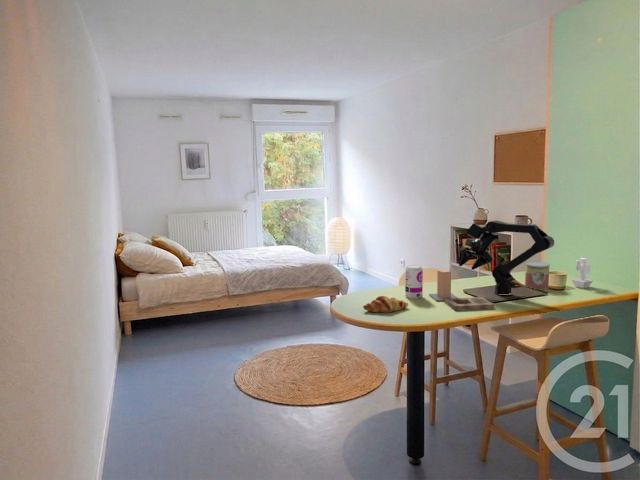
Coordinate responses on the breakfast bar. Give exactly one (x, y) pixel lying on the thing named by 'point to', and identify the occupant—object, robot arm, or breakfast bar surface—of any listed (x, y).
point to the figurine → (582, 274)
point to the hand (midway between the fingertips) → (465, 267)
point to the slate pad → (441, 297)
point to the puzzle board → (469, 303)
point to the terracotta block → (444, 283)
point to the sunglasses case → (515, 282)
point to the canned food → (537, 275)
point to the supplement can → (413, 281)
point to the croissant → (385, 304)
